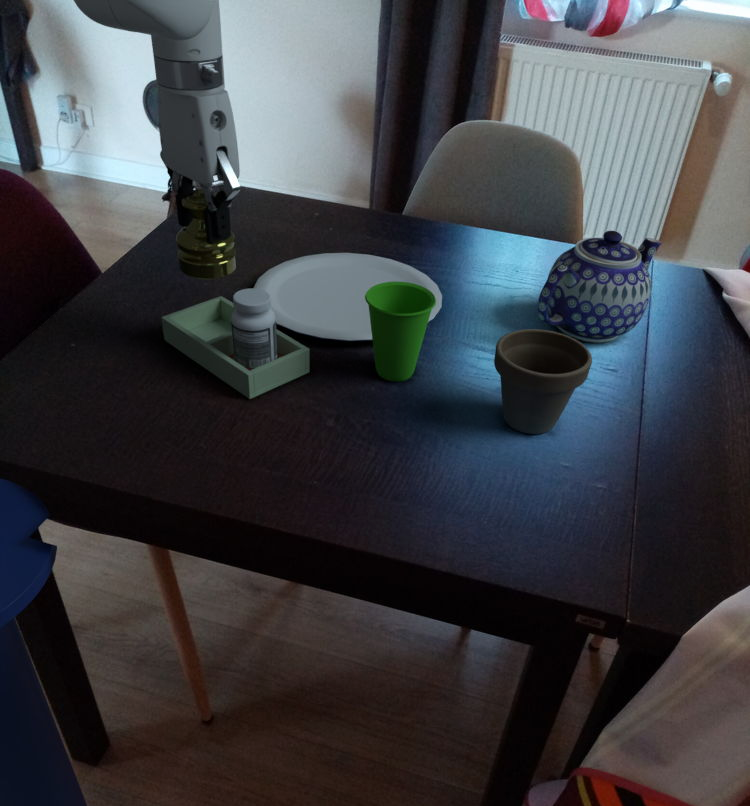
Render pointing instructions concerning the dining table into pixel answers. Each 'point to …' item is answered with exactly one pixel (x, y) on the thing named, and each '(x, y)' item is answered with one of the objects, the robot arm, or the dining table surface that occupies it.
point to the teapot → (598, 288)
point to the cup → (398, 326)
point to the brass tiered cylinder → (203, 244)
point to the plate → (334, 293)
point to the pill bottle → (253, 328)
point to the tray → (231, 348)
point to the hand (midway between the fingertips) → (204, 229)
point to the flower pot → (539, 376)
